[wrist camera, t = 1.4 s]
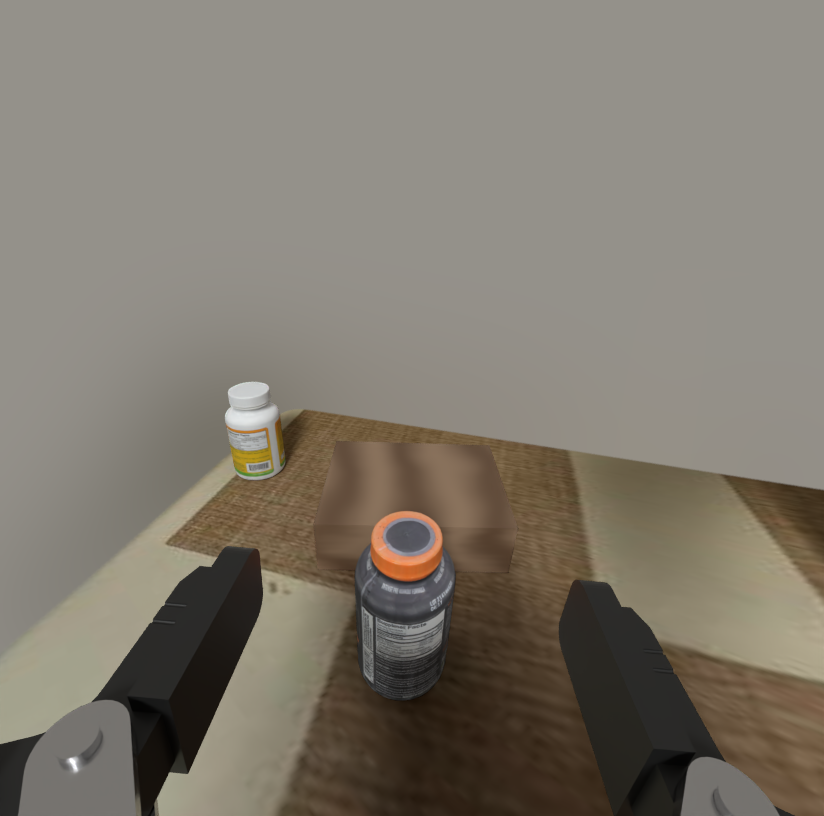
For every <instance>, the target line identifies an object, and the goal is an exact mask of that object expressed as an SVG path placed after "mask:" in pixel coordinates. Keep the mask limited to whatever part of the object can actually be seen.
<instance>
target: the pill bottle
mask: <svg viewBox="0 0 824 816" xmlns="http://www.w3.org/2000/svg"><path fill="white" fill-rule="evenodd" d="M442 545H443V537H442V533H441V529H440V528H439V526H438V525H437V523H436V522H435V521H434V520H432V519H431V518H430V517H428V516H426V515H424V514H422V513H418V512H413V511H400V512H395V513H392V514H389V515H387V516H385V517H384V518H382V519H381V520H380V521H379V522H378V523H377V524H376V525H375V527H374V529H373V531H372V535H371V543H370V544H369V545H368V546H367V547H366V548H365V549H364V551H363V552H362V554H361V555H360V557H359V559H358V562H357V565H356V569H355V597H356V620H357V622H356V623H357V646H358V662H359V666H360V670H361V673H362V675H363V677H364V679H365V681H366V682H367V684H368V685H369V686H370V687H371V688H372V689H373V690H374V691H375V692H377V693H378V694H380V695H382V696H384V697H386V698H389V699H393V700H411V699H414V698H417V697H419V696H422V695H423V694H425V693H426V692H428V691H429V690H430V689H431V688H432V687H433V686H434V685H435V683H436V682H437V681H438V679H439V678H440V676H441V673H442V671H443V667H444V664H445V658H446V651H447V646H448V637H449V630H450V621H451V613H452V604H453V596H454V588H455V576H456V575H455V568H454V564H453V561H452V559H451V557H450V555H449V553H448V552H447V551H446V549H445V548H444V547H443V546H442Z"/></svg>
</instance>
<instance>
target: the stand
mask: <svg viewBox="0 0 824 816" xmlns="http://www.w3.org/2000/svg"><path fill="white" fill-rule="evenodd" d="M400 511H413V512H418V513H422V514H424V515H426V516H428V517H430V518H431V519H432V520H434V521H435V522H436V523H437V525H438V526H439V528H440V529H441V533H442V537H443V545H442V546H443V547H444V548H445V549H446V551H447V552H448V553H449V555H450V557H451V559H452V561H453V564H454V568H455V572H494V573H508V572H509V567H510V563H511V558H512V554H513V549H514V545H515V540H516V536H517V531H518V527H517V524H516V521H515V518H514V515H513V512H512V509H511V507H510V504H509V501H508V498H507V495H506V492H505V489H504V486H503V483H502V481H501V478H500V475H499V472H498V469H497V466H496V463H495V460H494V457H493V455H492V452H491V449H490V446H489V445H457V444H421V443H386V442H350V441H336V445H335V448H334V452H333V456H332V459H331V463H330V466H329V470H328V474H327V477H326V481H325V485H324V488H323V492H322V495H321V499H320V503H319V506H318V510H317V513H316V517H315V521H314V524H313V525H314V536H315V547H316V558H317V568H318V570H355V569H356V565H357V562H358V559H359V557H360V555H361V554H362V552H363V551H364V549H365V548H366V547H367V546H368V545H369V544H370V543H371V535H372V531H373V529H374V527H375V525H376V524H377V523H378V522H379V521H380V520H381V519H382V518H384V517H385V516H387V515H389V514H392V513H395V512H400Z"/></svg>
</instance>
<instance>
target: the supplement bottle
mask: <svg viewBox="0 0 824 816" xmlns="http://www.w3.org/2000/svg"><path fill="white" fill-rule="evenodd" d="M228 397H229V403H230V406H231V407H230V408H229V409H228V410H227V412H226V414H225V421H226V427H227V432H228V436H229V441H230V447H231V452H232V457H233V462H234V467H235V471H236V473H237V474H238V475H239V476H240V477H242V478H244V479H247V480H263V479H267V478H270V477H272V476H274V475H276V474H278V473H279V472H280V471H281V470H282V469H283V467H284V465H285V453H284V446H283V438H282V429H281V421H280V414H279V409H278V407H277V406H276V405H275V404H274V403H273V402H271V401H270V400H271V395H270V390H269V386H268V385H266V384H265V383H261V382H246V383H241V384H238V385H235V386H233V387H232V388H230V389H229V391H228Z"/></svg>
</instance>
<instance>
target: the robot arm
mask: <svg viewBox="0 0 824 816" xmlns="http://www.w3.org/2000/svg"><path fill="white" fill-rule="evenodd" d="M262 599H263V587H262V576H261V565H260V555H259V551H258V549H254V548H243V547H232V546H227V547H225V548H224V549H223V550H222V551H221V553H220V554H219V556H218V558H217V559H216V561H215V562H214V564H213V565H212V567H204V566H199V567H198V568H197V569H196V570H194V571H193V572H192V573H191V574H189V575H188V576H187V577H185V578H184V579H183V580H182V581H180V582H179V584H178V585H177V586H176V588H175V589H174V590H173V592H172V593H171V595H170V596H169V597H168V599H167V600H166V602H165V605H164V606H162V607H161V609H160V610H159V611H158V613H157V614H156V616H155V617H154V618H153V622H152V623H150V624H149V625H148V627H147V628H146V630H145V631H144V632H143V634H142V635H141V636H140V638H139V639H138V641H137V642H136V643H135V645H134V646H133V648H132V649H131V650H130V652H129V653H128V655H127V656H126V657H125V659H124V660H123V662H122V663H121V664H120V666H119V667H118V669H117V670H116V671H115V673H114V674H113V676H112V677H111V678H110V680H109V681H108V682H107V684H106V685H105V687H104V688H103V689H102V691H101V692H100V693H99V694H98V696H97V697H96V698H95V699H94V700H93V701H92V702H91V703H88V704H86V705H83V706H81V707H79V708H77V709H75V710H73V711H72V712H70V713H68V714H67V715H65V716H64V717H63V718H61V719H60V720H59V721H57V722H56V723H55V724H54V725H53V726H52V727H51V728H50V729H48V730H47V732H45V733H42V734H39V735H36V736H32V737H28V738H24V739H20V740H16V741H12V742H8V743H4V744H0V816H159V813H158V803H157V797H158V795H159V793H160V791H161V788H162V786H163V784H164V782H165V780H166V778H167V776H168V774H169V772H173V773H183V774H188V773H189V770H190V768H191V766H192V764H193V762H194V759H195V757H196V755H197V753H198V750H199V748H200V746H201V744H202V741H203V739H204V737H205V735H206V732H207V730H208V728H209V726H210V724H211V721H212V719H213V717H214V715H215V712H216V710H217V708H218V706H219V703H220V701H221V699H222V697H223V694H224V692H225V690H226V688H227V686H228V683H229V681H230V679H231V677H232V674H233V672H234V670H235V668H236V665H237V663H238V661H239V659H240V656H241V654H242V652H243V650H244V648H245V645H246V643H247V641H248V639H249V636H250V634H251V632H252V630H253V627H254V625H255V623H256V621H257V618H258V616H259V613H260V609H261V605H262ZM559 640H560V646H561V650H562V653H563V656H564V659H565V662H566V665H567V669H568V672H569V675H570V678H571V681H572V684H573V688H574V691H575V694H576V697H577V700H578V703H579V707H580V710H581V713H582V716H583V719H584V722H585V726H586V729H587V732H588V735H589V738H590V741H591V745H592V748H593V751H594V754H595V757H596V760H597V763H598V767H599V770H600V773H601V776H602V779H603V782H604V786H605V789H606V792H607V795H608V798H609V801H610V805H611V808H612V811H613V814H614V816H794V815H792V814H790V813H788V812H785V811H783V810H781V809H779V808H777V807H775V806H774V805H773V804H772V803H771V801H770V800H769V799H768V797H767V796H766V795H765V794H764V793H763V791H762V790H761V789H760V788H759V787H758V786H757V785H756V784H755V783H754V782H753V781H752V780H751V779H750V778H748V777H747V776H746V775H745V774H744V773H742V772H741V771H740V770H738V769H737V768H735V767H733V766H732V765H730V764H728V763H726V761H725V760H724V758H723V757H722V755H721V754H720V752H719V750H718V749H717V747H716V745H715V743H714V741H713V740H712V738H711V736H710V734H709V732H708V731H707V729H706V727H705V725H704V723H703V722H702V720H701V718H700V716H699V715H698V713H697V711H696V709H695V707H694V706H693V704H692V702H691V700H690V698H689V697H688V695H687V693H686V691H685V689H684V688H683V686H682V684H681V682H680V681H679V679H678V677H677V675H676V674H674V673H673V668H672V666H671V664H670V663H669V661H668V659H667V657H666V655H663V652H662V651H663V650H662V648H661V646H660V645H659V643H658V641H657V639H656V638H655V636H654V634H653V632H652V630H651V629H650V627H649V626H648V625H647V624H646V623H645V622H644V621H643V620H642V619H641V618H640V617H639V616H638V615H637V614H636V613H635V612H634V611H633V609H632V608H628V607H621V605H620V603H619V601H618V599H617V597H616V595H615V594H614V592H613V590H612V588H611V586H610V585H609V584H608V583H605V582H594V581H584V580H575V581H574V582H573V583H572V585H571V588H570V592H569V595H568V598H567V601H566V604H565V607H564V610H563V613H562V616H561V619H560V623H559Z"/></svg>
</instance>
